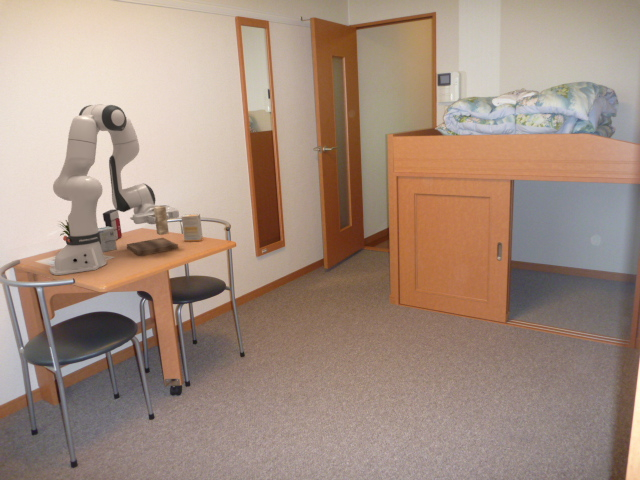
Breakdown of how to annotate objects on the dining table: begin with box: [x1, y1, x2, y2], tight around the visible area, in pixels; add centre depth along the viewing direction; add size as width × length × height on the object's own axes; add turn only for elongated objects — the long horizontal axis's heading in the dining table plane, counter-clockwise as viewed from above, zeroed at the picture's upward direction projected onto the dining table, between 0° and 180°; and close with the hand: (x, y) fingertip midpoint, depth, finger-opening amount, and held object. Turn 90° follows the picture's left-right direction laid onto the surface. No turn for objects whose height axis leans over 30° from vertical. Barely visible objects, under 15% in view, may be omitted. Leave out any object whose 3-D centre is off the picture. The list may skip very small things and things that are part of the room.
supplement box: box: [181, 213, 204, 243], centre depth 269 cm, size 8×5×13 cm, turn 84°
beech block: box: [154, 205, 170, 236], centre depth 241 cm, size 4×4×12 cm
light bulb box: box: [98, 226, 118, 253], centre depth 259 cm, size 11×7×11 cm, turn 134°
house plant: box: [58, 219, 70, 237], centre depth 260 cm, size 14×14×16 cm
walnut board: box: [126, 237, 179, 257], centre depth 259 cm, size 18×20×2 cm
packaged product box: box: [102, 208, 123, 240], centre depth 281 cm, size 11×4×15 cm, turn 179°
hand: (161, 218), depth 240 cm, fingers closed on beech block, 4 cm apart
